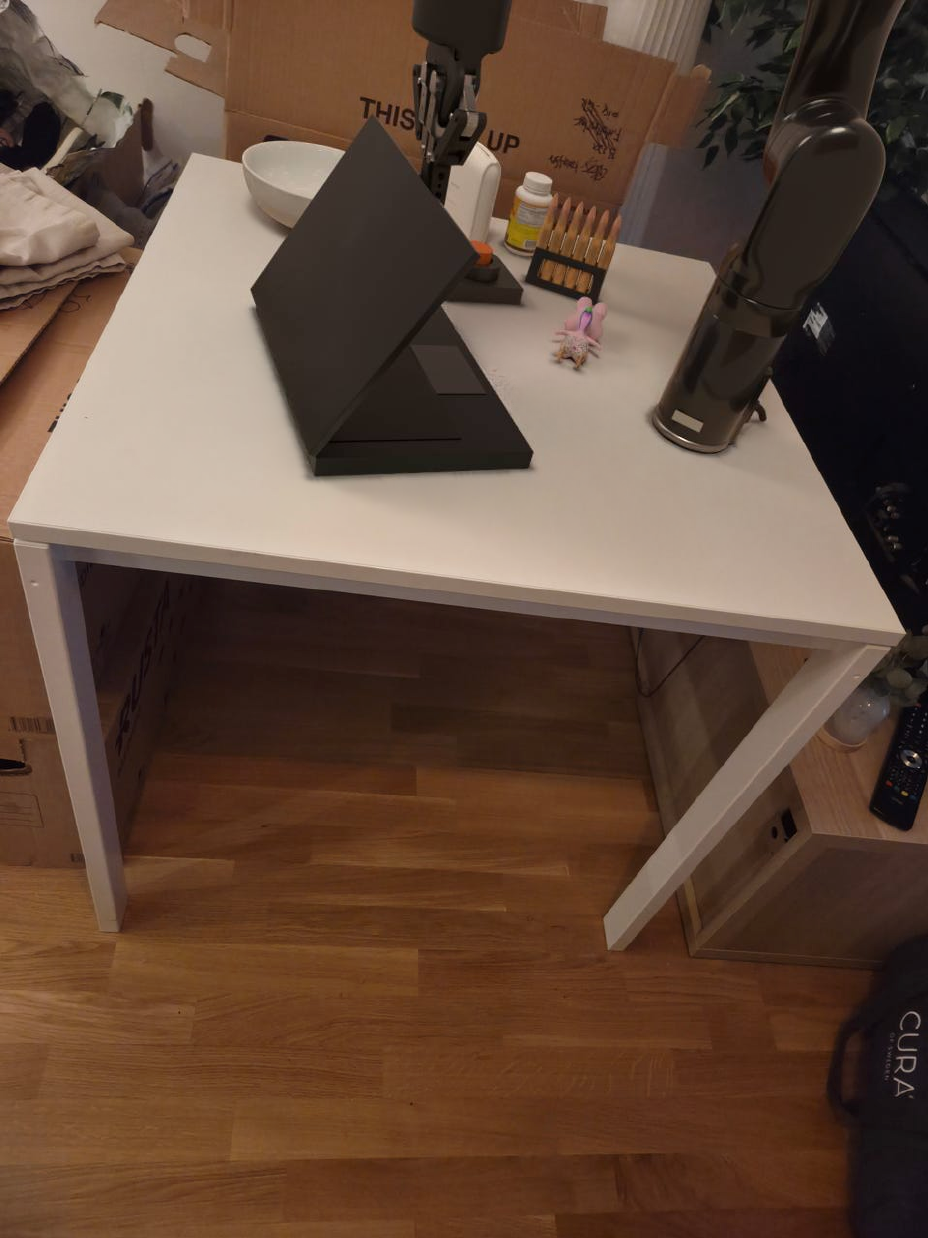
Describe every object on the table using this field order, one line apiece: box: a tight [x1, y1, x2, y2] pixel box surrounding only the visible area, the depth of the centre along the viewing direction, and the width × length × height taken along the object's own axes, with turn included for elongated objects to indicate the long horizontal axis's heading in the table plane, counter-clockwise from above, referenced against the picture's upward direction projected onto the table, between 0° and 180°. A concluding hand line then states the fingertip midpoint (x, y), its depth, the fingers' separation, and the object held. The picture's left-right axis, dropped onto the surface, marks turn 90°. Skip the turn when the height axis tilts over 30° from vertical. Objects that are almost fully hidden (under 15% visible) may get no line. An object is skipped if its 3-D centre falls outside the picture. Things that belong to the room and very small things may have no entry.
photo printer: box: [444, 140, 502, 243], centre depth 113 cm, size 10×4×12 cm, turn 39°
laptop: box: [255, 305, 535, 477], centre depth 84 cm, size 22×30×2 cm
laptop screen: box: [249, 113, 481, 457], centre depth 74 cm, size 22×30×1 cm
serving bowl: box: [241, 140, 346, 229], centre depth 106 cm, size 21×21×7 cm
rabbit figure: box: [554, 297, 608, 371], centre depth 99 cm, size 6×6×15 cm
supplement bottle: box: [503, 171, 554, 257], centre depth 115 cm, size 6×6×10 cm
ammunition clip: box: [524, 192, 623, 307], centre depth 107 cm, size 11×2×12 cm, turn 76°
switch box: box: [444, 253, 524, 306], centre depth 104 cm, size 11×9×4 cm
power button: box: [470, 241, 494, 265], centre depth 103 cm, size 4×4×2 cm
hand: (430, 205), depth 72 cm, fingers closed
